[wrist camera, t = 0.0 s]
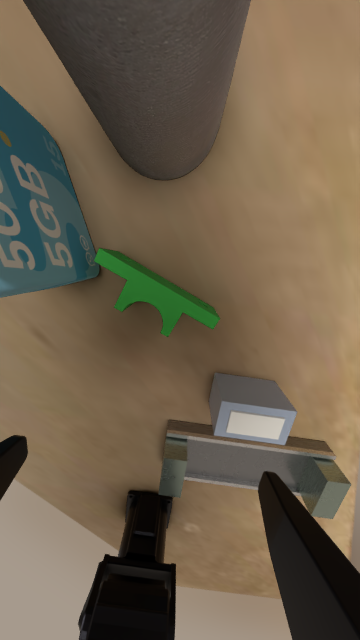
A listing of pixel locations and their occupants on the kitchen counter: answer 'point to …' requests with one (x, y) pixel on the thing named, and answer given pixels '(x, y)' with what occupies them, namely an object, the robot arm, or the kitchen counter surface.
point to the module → (250, 409)
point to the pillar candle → (150, 72)
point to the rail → (252, 465)
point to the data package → (37, 209)
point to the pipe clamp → (155, 292)
